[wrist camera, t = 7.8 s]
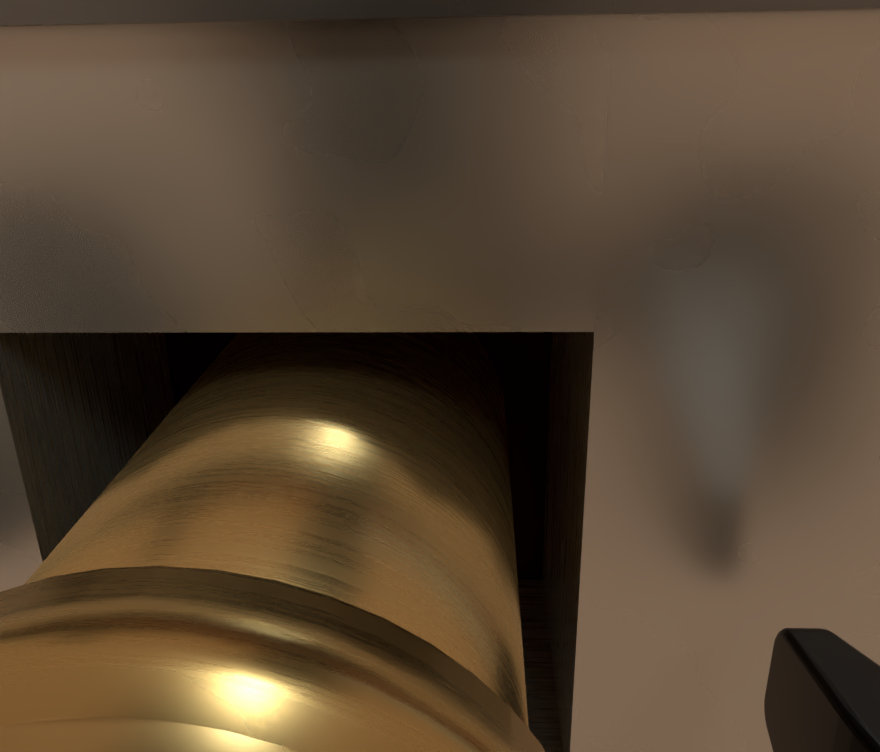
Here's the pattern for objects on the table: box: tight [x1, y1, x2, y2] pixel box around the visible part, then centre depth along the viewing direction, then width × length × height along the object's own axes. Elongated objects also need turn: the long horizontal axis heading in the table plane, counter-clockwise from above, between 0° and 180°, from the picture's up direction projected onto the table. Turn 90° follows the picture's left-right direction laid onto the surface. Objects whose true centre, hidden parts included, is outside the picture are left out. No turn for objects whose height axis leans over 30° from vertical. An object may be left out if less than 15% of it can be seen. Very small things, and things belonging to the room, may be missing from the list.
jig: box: [0, 0, 880, 752], centre depth 10 cm, size 16×12×4 cm
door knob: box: [0, 332, 545, 752], centre depth 8 cm, size 5×5×8 cm
